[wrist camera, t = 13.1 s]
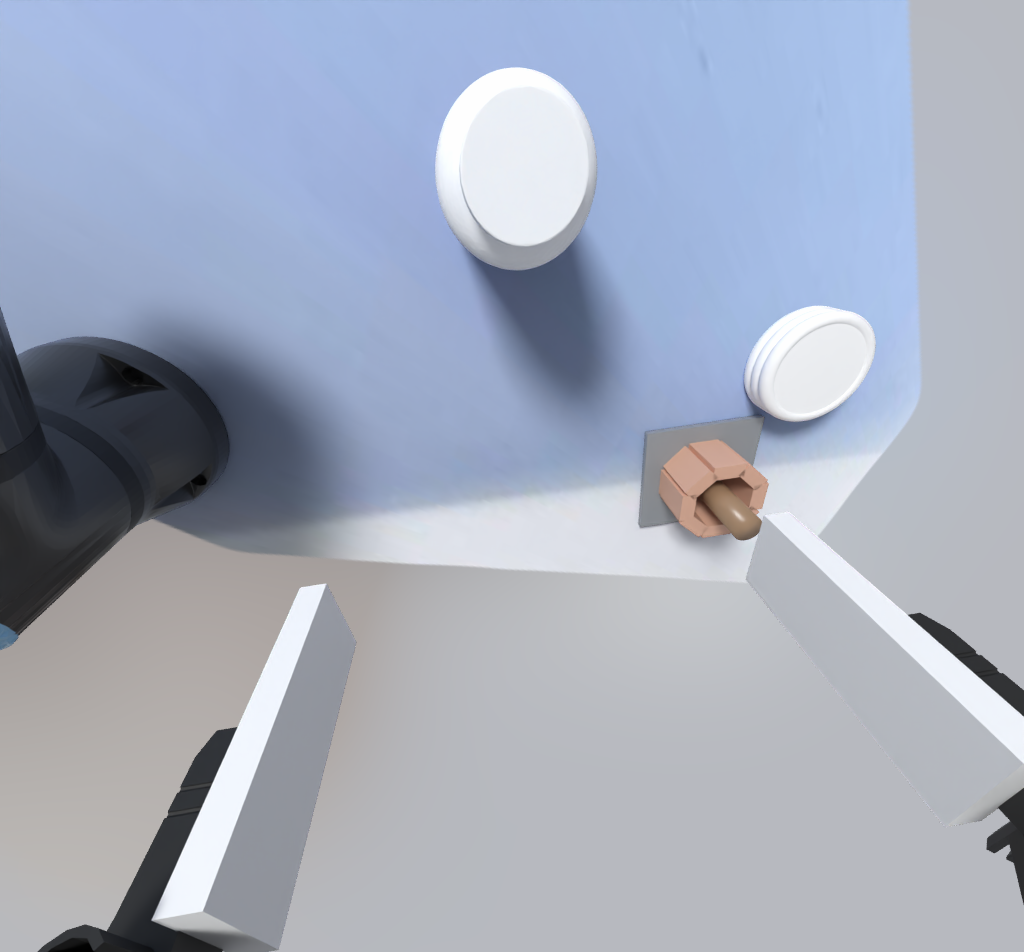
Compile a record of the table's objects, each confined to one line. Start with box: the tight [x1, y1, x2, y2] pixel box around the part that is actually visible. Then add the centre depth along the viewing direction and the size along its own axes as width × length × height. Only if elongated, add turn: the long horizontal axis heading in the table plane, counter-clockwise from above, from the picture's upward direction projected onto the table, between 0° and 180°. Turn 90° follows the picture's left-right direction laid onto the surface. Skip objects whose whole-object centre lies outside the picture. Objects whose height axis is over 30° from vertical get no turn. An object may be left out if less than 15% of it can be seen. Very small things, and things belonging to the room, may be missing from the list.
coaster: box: [744, 306, 876, 422], centre depth 37 cm, size 10×10×4 cm
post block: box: [638, 415, 765, 540], centre depth 40 cm, size 12×12×10 cm
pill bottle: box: [435, 68, 597, 270], centre depth 23 cm, size 8×8×14 cm
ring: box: [659, 439, 769, 538], centre depth 41 cm, size 8×8×5 cm
